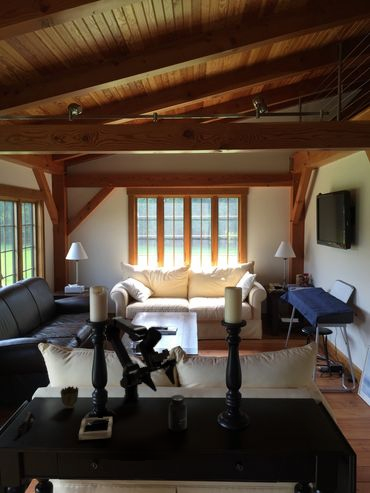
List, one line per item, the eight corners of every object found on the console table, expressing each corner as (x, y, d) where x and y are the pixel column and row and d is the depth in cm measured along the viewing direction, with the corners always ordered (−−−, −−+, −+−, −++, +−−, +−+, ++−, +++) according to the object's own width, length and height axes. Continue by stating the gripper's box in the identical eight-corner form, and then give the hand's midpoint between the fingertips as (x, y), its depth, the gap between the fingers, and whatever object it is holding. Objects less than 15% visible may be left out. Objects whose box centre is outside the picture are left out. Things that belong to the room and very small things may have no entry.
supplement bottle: (184, 433, 147) (184, 402, 146) (167, 431, 149) (166, 400, 148) (188, 423, 154) (188, 394, 153) (171, 422, 155) (171, 392, 154)
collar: (83, 423, 154) (82, 418, 154) (112, 421, 156) (112, 416, 156) (78, 440, 143) (78, 434, 143) (110, 437, 144) (110, 431, 144)
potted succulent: (57, 410, 166) (56, 391, 165) (68, 402, 172) (67, 384, 172) (71, 413, 163) (71, 394, 162) (82, 405, 170) (82, 387, 169)
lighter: (26, 440, 148) (21, 432, 145) (21, 439, 148) (15, 431, 145) (36, 418, 155) (32, 410, 151) (31, 417, 155) (26, 409, 152)
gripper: (137, 348, 153) (154, 384, 145) (174, 338, 165) (192, 371, 158) (126, 362, 159) (142, 398, 152) (163, 352, 172) (179, 384, 164)
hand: (165, 387), depth 156 cm, fingers open, 9 cm apart
